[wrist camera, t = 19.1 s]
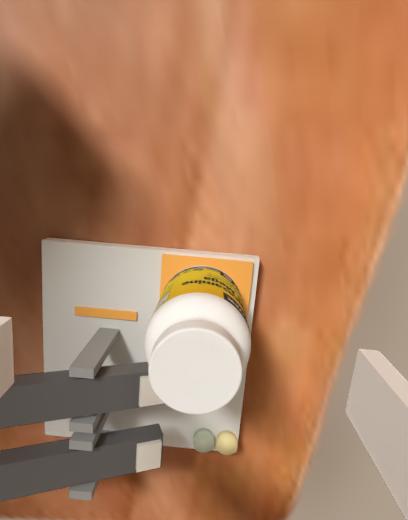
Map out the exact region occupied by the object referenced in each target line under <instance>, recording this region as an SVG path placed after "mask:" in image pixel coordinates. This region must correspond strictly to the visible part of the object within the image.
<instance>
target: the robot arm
mask: <svg viewBox="0 0 408 520" xmlns="http://www.w3.org/2000/svg"><path fill="white" fill-rule="evenodd" d="M13 383H14V360H13V332H12V317H3V316H0V398H1V397H2V395H3V394H4V393H5V392H6V391H7V390H8V389H9V388H10V387H11V386H12V384H13ZM345 412H346V414H347V416H348V418H349V419H350V421H351V423H352V425H353V427H354V428H355V430H356V432H357V433H358V435H359V437H360V439H361V441H362V443H363V444H364V446H365V448H366V450H367V451H368V453H369V455H370V457H371V458H372V460H373V462H374V464H375V465H376V467H377V469H378V471H379V473H380V474H381V476H382V478H383V480H384V482H385V483H386V485H387V487H388V488H389V490H390V492H391V494H392V496H393V498H394V499H395V501H396V503H397V505H398V506H399V508H400V510H401V512H402V513H403V515H404V517H405V519H406V520H408V382H407V380H406V379H405V378H404V377H403V376H402V375H401V374H400V373H399V372H398V371H397V370H396V369H395V368H394V366H393V365H391V363H390V362H389V361H388V360H387V359H386V358H385V357H384V356H383V355H382V354H381V353H380V352H379V351H377V350H366V349H359V350H358V354H357V359H356V364H355V369H354V373H353V378H352V383H351V387H350V392H349V396H348V401H347V406H346V410H345Z"/></svg>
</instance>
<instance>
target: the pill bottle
mask: <svg viewBox="0 0 408 520" xmlns="http://www.w3.org/2000/svg"><path fill="white" fill-rule="evenodd" d="M144 349H145V355H146V359H147V362H148V364H149V366H148V374H149V380H150V383H151V386H152V388H153V390H154V392H155V393H156V395H157V396H158V397H159V398H160V399H161V400H162V401H163V402H164V403H165V404H166V405H168V406H169V407H171V408H173V409H175V410H177V411H179V412H183V413H187V414H205V413H210V412H213V411H216V410H218V409H220V408H222V407H223V406H225V405H226V404H227V403H228V402H230V401H231V400H232V398H233V397H234V396H235V395H236V393H237V391H238V389H239V387H240V384H241V381H242V375H243V371H244V369H245V368H246V366H247V363H248V361H249V357H250V353H251V336H250V330H249V326H248V322H247V318H246V314H245V310H244V306H243V302H242V298H241V294H240V291H239V289H238V287H237V285H236V284H235V282H234V281H233V280H232V279H231V277H230V276H228V275H227V274H226V273H225V272H223V271H221V270H219V269H217V268H215V267H211V266H206V265H197V266H191V267H188V268H185V269H183V270H181V271H180V272H178V273H177V274H176V275H174V276H173V277H172V278H171V280H170V281H169V282H168V284H167V285H166V287H165V288H164V291H163V293H162V295H161V297H160V300H159V302H158V304H157V306H156V308H155V311H154V313H153V315H152V317H151V319H150V321H149V324H148V326H147V329H146V333H145V340H144Z"/></svg>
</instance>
